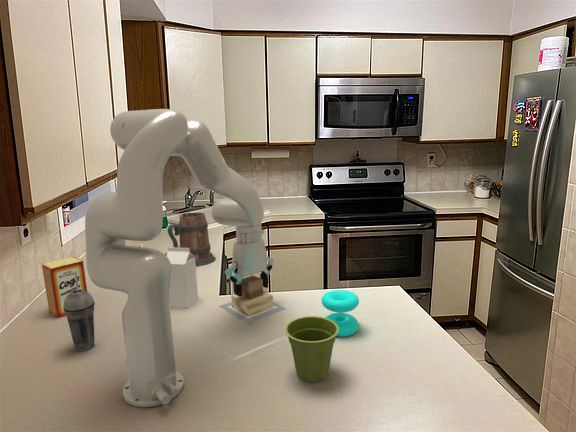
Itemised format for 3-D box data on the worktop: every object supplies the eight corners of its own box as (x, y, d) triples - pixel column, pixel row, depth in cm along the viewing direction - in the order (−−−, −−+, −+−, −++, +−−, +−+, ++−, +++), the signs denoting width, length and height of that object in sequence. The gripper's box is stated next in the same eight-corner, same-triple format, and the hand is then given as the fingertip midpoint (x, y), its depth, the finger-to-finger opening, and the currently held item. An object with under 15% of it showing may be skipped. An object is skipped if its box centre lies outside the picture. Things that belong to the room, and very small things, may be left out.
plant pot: (275, 374, 95) (273, 328, 93) (310, 354, 103) (310, 311, 101) (314, 397, 87) (313, 347, 84) (349, 373, 95) (349, 327, 92)
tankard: (198, 252, 190) (194, 208, 186) (224, 258, 180) (221, 212, 176) (153, 266, 172) (148, 218, 168) (180, 274, 162) (175, 224, 158)
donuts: (366, 295, 112) (341, 306, 106) (366, 330, 114) (341, 342, 108) (339, 285, 120) (313, 295, 114) (339, 318, 122) (314, 329, 116)
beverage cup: (66, 356, 105) (54, 280, 101) (72, 342, 112) (62, 271, 108) (97, 351, 107) (87, 277, 103) (102, 338, 114) (92, 267, 110)
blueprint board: (286, 311, 127) (286, 308, 127) (248, 325, 119) (248, 322, 118) (255, 295, 139) (255, 293, 139) (219, 308, 130) (218, 305, 130)
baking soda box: (80, 302, 138) (73, 255, 135) (89, 307, 134) (82, 259, 130) (49, 312, 131) (41, 263, 128) (57, 318, 127) (50, 267, 123)
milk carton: (189, 310, 129) (184, 251, 125) (167, 309, 131) (162, 250, 127) (198, 301, 136) (194, 244, 132) (178, 300, 138) (173, 244, 134)
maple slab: (273, 307, 128) (272, 295, 127) (248, 316, 123) (248, 303, 122) (255, 298, 135) (255, 287, 134) (231, 307, 129) (231, 294, 128)
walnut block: (263, 295, 128) (262, 279, 127) (249, 299, 125) (249, 283, 123) (253, 290, 131) (252, 275, 130) (240, 294, 128) (239, 279, 127)
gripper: (264, 229, 132) (266, 280, 136) (216, 239, 121) (220, 295, 125) (279, 233, 127) (281, 286, 130) (231, 244, 116) (234, 302, 119)
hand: (251, 290), depth 128 cm, fingers open, 9 cm apart
